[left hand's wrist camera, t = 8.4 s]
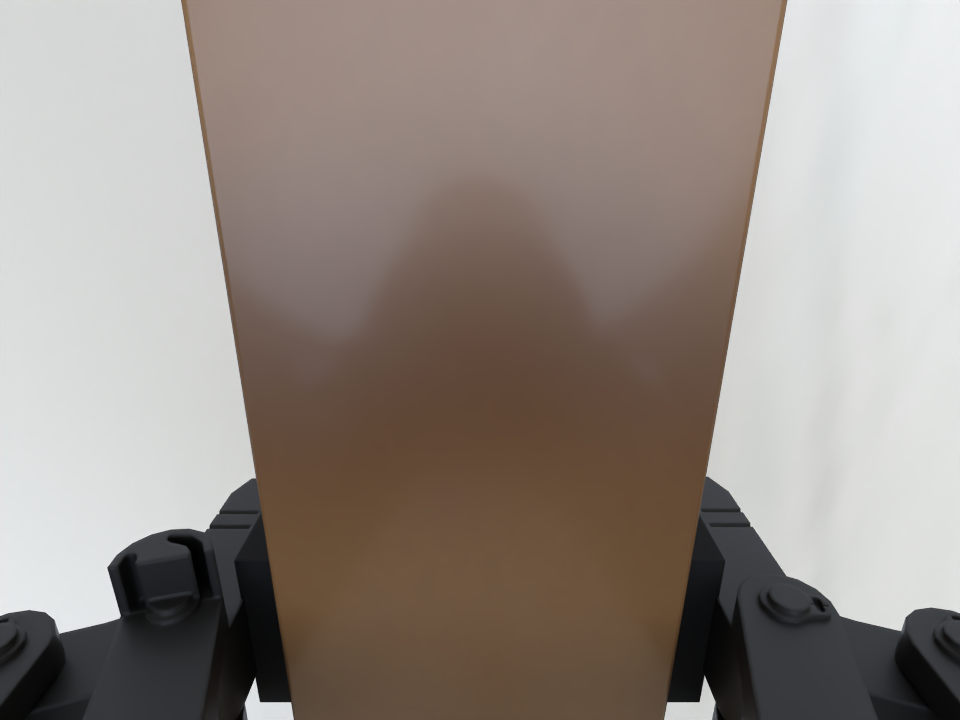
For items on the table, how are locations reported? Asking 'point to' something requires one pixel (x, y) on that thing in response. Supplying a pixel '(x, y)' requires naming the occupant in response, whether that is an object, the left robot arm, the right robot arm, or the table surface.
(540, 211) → the beam
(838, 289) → the table surface
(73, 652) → the left robot arm
